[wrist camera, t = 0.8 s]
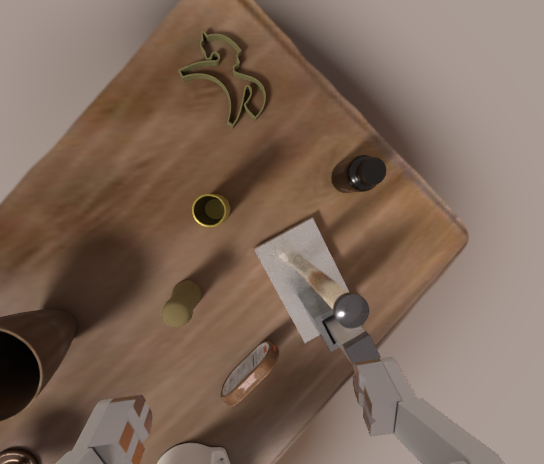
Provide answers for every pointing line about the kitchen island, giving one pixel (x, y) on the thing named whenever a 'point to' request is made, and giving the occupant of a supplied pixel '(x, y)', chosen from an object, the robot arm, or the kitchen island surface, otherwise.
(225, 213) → the vase
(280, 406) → the kitchen island surface
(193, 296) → the olive waisted cylinder
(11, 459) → the candlestick
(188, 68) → the cookie cutter
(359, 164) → the supplement bottle
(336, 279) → the stand
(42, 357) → the plant pot
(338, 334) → the column
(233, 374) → the tin
